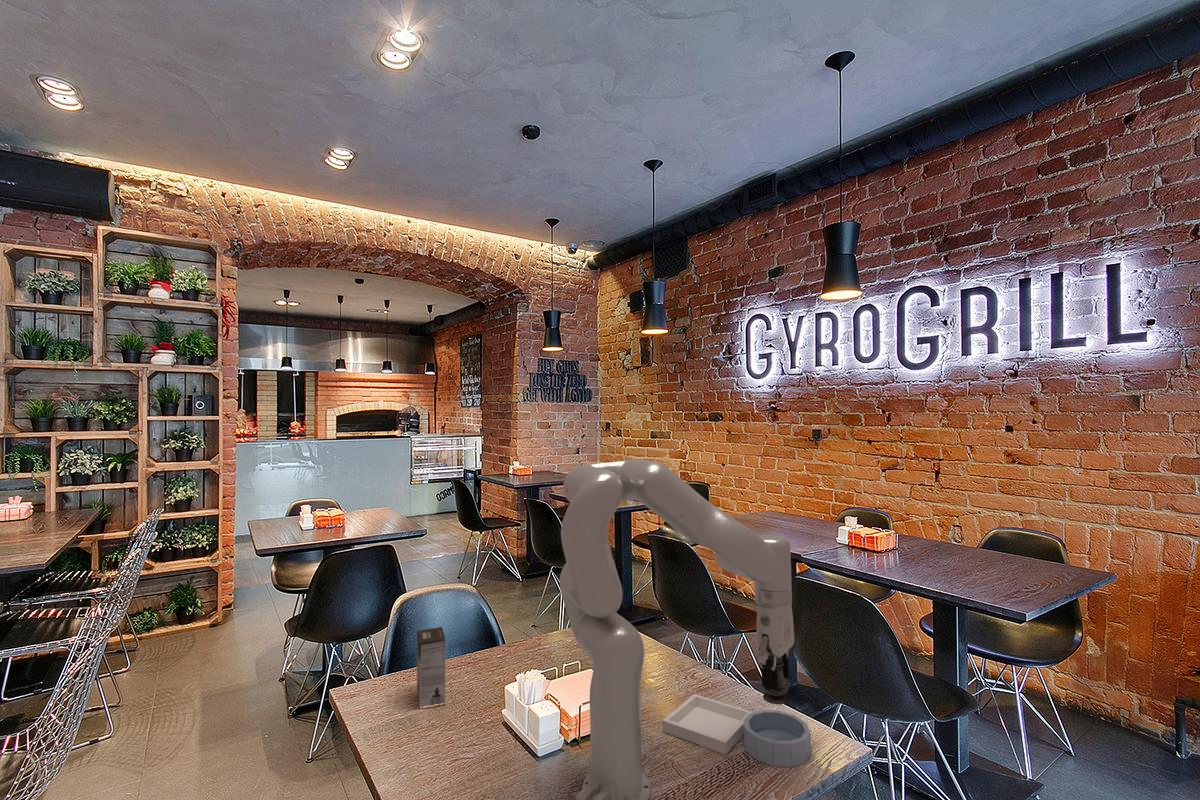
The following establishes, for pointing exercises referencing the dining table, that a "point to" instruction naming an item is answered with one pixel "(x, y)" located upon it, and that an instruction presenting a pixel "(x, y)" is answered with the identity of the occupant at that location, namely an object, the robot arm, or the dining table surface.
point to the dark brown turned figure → (783, 685)
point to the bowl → (777, 738)
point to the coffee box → (431, 666)
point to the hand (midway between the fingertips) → (775, 681)
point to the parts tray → (707, 723)
